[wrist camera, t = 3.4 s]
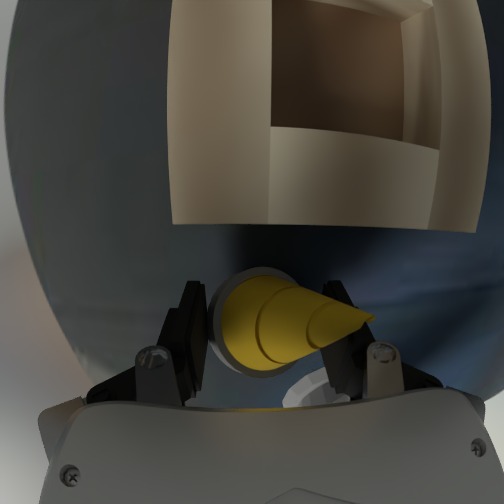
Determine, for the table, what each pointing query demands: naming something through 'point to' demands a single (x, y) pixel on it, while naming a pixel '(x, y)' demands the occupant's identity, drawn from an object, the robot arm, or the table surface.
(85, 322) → the table surface
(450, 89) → the socket block
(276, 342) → the yellow stepped cone
